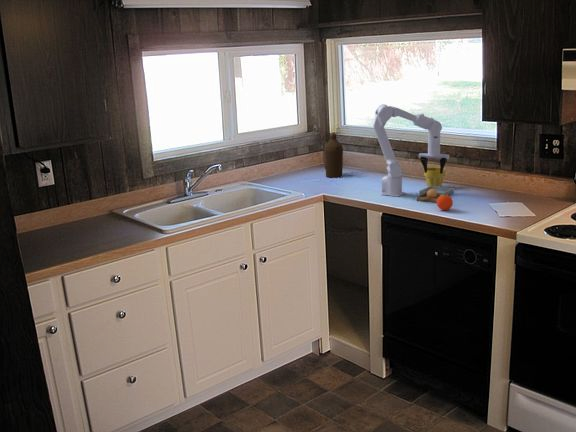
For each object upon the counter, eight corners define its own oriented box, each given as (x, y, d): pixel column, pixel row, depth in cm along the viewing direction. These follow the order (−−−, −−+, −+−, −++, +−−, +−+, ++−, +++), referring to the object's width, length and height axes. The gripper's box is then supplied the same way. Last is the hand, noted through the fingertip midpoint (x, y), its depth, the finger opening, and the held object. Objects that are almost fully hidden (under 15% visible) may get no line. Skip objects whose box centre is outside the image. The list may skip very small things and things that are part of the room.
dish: (419, 195, 305) (419, 190, 304) (430, 190, 314) (430, 185, 313) (442, 198, 298) (443, 193, 297) (453, 193, 307) (453, 188, 306)
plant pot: (436, 190, 313) (436, 171, 310) (419, 188, 320) (419, 169, 318) (448, 187, 319) (449, 168, 317) (432, 184, 327) (432, 166, 324)
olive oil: (347, 175, 359) (346, 131, 352) (336, 178, 351) (335, 134, 344) (331, 173, 365) (330, 130, 359) (321, 177, 357) (319, 133, 351)
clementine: (431, 210, 278) (431, 194, 276) (438, 207, 283) (439, 191, 281) (448, 212, 273) (448, 197, 271) (455, 209, 278) (455, 193, 276)
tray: (417, 200, 295) (417, 196, 295) (425, 196, 302) (425, 192, 301) (438, 203, 289) (439, 199, 288) (447, 199, 295) (447, 195, 295)
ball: (425, 199, 295) (425, 189, 294) (429, 197, 298) (429, 187, 297) (434, 199, 292) (434, 190, 291) (438, 197, 295) (438, 188, 294)
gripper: (416, 145, 304) (416, 173, 307) (446, 147, 297) (446, 175, 300) (421, 143, 310) (420, 170, 313) (450, 144, 303) (449, 172, 306)
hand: (433, 172), depth 307 cm, fingers open, 7 cm apart
